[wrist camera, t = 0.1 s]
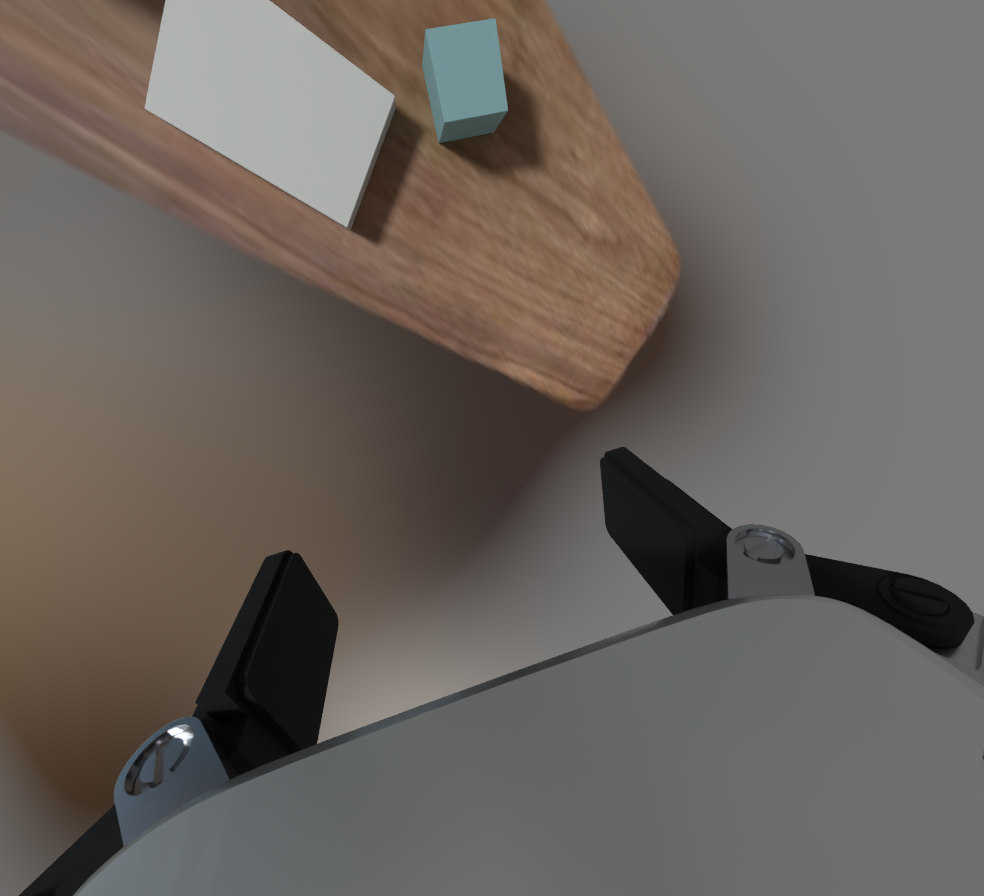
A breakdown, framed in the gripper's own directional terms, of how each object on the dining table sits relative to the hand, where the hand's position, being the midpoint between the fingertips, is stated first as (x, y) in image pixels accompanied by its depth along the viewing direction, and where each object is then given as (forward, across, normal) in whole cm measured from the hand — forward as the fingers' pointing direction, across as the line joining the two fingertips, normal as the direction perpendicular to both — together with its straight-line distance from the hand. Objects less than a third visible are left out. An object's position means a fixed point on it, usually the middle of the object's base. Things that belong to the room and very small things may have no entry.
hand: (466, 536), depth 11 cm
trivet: (+31, +5, -20) cm, 37 cm away
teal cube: (+31, -9, -19) cm, 38 cm away
